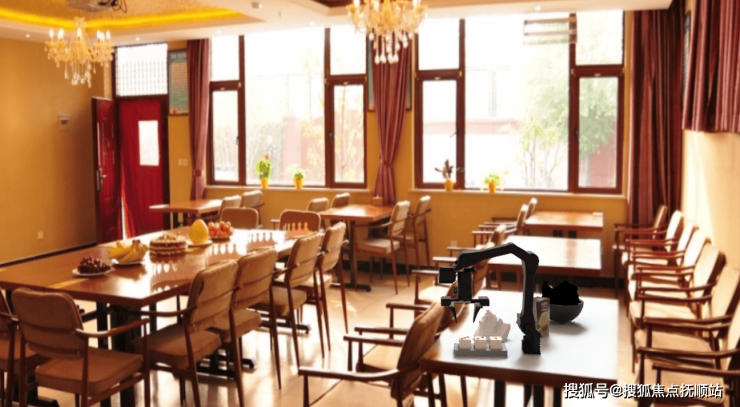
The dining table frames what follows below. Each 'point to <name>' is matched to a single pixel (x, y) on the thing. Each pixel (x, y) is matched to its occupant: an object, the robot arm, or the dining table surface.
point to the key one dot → (495, 343)
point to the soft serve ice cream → (492, 327)
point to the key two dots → (480, 342)
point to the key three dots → (464, 342)
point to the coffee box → (542, 314)
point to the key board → (481, 351)
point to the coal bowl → (563, 301)
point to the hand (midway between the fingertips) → (464, 322)
